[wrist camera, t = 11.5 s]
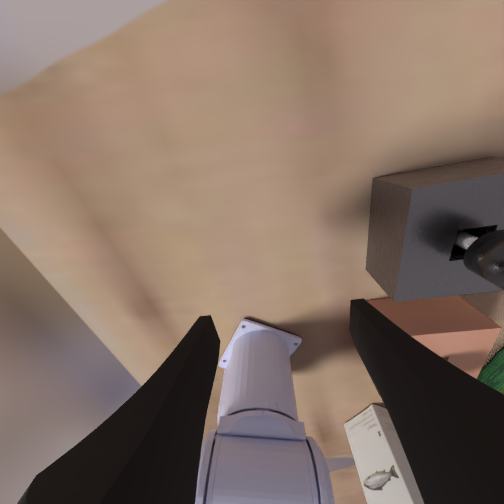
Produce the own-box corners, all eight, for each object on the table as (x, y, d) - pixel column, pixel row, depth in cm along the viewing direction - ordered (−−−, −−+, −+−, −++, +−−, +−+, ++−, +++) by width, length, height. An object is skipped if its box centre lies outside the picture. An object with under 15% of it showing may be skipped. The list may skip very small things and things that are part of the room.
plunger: (441, 236, 18) (546, 287, 12) (405, 241, 19) (487, 293, 12) (449, 203, 17) (573, 239, 10) (410, 209, 17) (506, 247, 11)
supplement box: (371, 401, 32) (432, 543, 20) (408, 414, 33) (485, 554, 21) (341, 423, 35) (380, 555, 23) (376, 434, 36) (429, 565, 25)
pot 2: (434, 348, 26) (470, 390, 21) (359, 354, 27) (379, 395, 22) (452, 290, 22) (501, 327, 17) (363, 300, 23) (388, 337, 18)
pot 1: (462, 257, 20) (520, 288, 15) (365, 269, 21) (394, 302, 16) (494, 156, 16) (584, 160, 11) (372, 177, 17) (412, 188, 13)
